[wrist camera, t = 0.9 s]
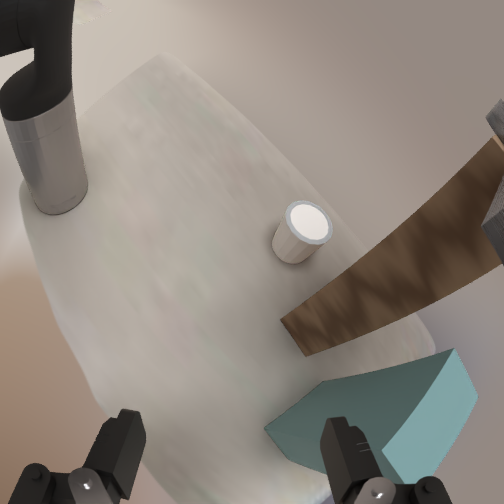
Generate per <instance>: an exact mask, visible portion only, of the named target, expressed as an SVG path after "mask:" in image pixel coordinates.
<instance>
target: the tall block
mask: <svg viewBox="0 0 504 504" xmlns="http://www.w3.org/2000/svg"><path fill="white" fill-rule="evenodd" d="M477 399H478V395H477V393H476V390H475V388H474V386H473V384H472V382H471V380H470V378H469V376H468V374H467V372H466V370H465V368H464V366H463V364H462V362H461V360H460V358H459V356H458V354H457V352H456V350H455V348H453V349H450V350H447V351H444V352H441V353H438V354H435V355H432V356H428V357H425V358H422V359H418V360H415V361H412V362H408V363H404V364H401V365H397V366H393V367H389V368H385V369H381V370H377V371H373V372H368V373H364V374H359V375H355V376H350V377H345V378H339V379H334V380H328V381H323V382H322V383H321V384H319V385H318V386H317V387H316V388H315V389H314V390H312V391H311V392H310V393H309V394H307V395H306V396H305V397H304V398H303V399H301V400H300V401H299V402H298V403H296V404H295V405H294V406H292V407H291V408H290V409H289V410H287V411H286V412H285V413H283V414H282V415H281V416H279V417H278V418H277V419H275V420H274V421H273V422H271V423H270V424H269V425H267V426H266V427H264V429H265V430H266V432H267V433H268V434H269V436H270V437H271V438H272V440H273V441H274V442H275V443H276V445H277V446H278V447H279V448H280V450H281V451H282V452H283V453H284V455H285V456H286V457H287V458H288V460H290V461H293V462H295V463H298V464H300V465H303V466H305V467H308V468H310V469H313V470H316V471H318V472H321V473H324V474H327V472H326V469H325V465H324V462H323V458H322V454H321V450H320V439H321V436H322V432H323V429H324V426H325V423H326V420H327V418H332V417H341V416H345V417H346V419H347V421H348V424H349V426H357V427H358V428H359V429H360V430H361V431H362V432H363V433H364V434H365V437H366V439H367V441H368V443H369V446H370V448H371V450H372V453H373V455H374V457H375V459H376V462H377V464H378V466H379V469H380V471H381V473H382V475H383V477H384V478H387V479H389V480H391V481H392V482H393V483H395V484H416V483H417V481H418V480H419V479H421V478H423V477H426V476H432V475H433V473H434V472H435V471H436V469H437V468H438V466H439V465H440V463H441V462H442V460H443V459H444V457H445V456H446V454H447V453H448V451H449V449H450V448H451V446H452V445H453V443H454V441H455V440H456V438H457V436H458V435H459V433H460V431H461V430H462V428H463V426H464V424H465V422H466V420H467V419H468V417H469V415H470V413H471V411H472V409H473V407H474V405H475V403H476V401H477Z"/></svg>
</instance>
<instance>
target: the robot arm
mask: <svg viewBox="0 0 504 504" xmlns="http://www.w3.org/2000/svg"><path fill="white" fill-rule="evenodd" d="M74 4H75V0H0V57H2V56H5V55H9V54H12V53H16V52H19V51H23V50H26V49H30V48H34V61H32V62H31V63H30V64H28V65H27V66H25V67H23V68H22V69H20V70H19V71H18V72H16V73H15V74H13V75H12V76H11V77H10V78H9V79H8V80H7V81H6V82H5V83H4V85H3V86H2V88H1V90H0V110H1V114H2V117H3V121H4V124H5V127H6V130H7V133H8V135H9V139H10V142H11V145H12V147H13V150H14V153H15V156H16V158H17V161H18V163H19V166H20V168H21V171H22V173H23V176H24V178H25V180H26V183H27V185H28V187H29V190H30V192H31V194H32V196H33V198H34V201H35V203H36V205H37V207H38V208H39V209H40V210H41V211H42V212H44V213H47V214H61V213H64V212H67V211H69V210H70V209H72V208H74V207H75V206H76V205H77V204H78V203H79V202H80V201H81V200H82V199H83V197H84V196H85V194H86V191H87V187H88V180H87V176H86V171H85V166H84V161H83V156H82V150H81V145H80V139H79V133H78V127H77V120H76V113H75V105H74V99H73V98H74V97H73V88H72V75H71V74H72V73H71V72H72V71H71V70H72V44H71V43H72V23H73V12H74ZM145 443H146V433H145V429H144V426H143V422H142V419H141V415H140V412H139V411H133V410H128V409H121V411H120V413H119V415H118V417H117V419H116V418H112V417H111V418H109V419H108V420H107V421H106V422H105V423H104V424H103V425H102V427H101V429H100V431H99V434H98V435H97V437H96V441H95V442H94V444H93V446H92V448H91V450H90V452H89V454H88V457H87V459H86V461H85V463H84V465H83V466H82V468H78V469H75V470H73V471H72V472H71V473H55V472H50V471H49V470H48V469H47V468H46V467H45V466H44V465H42V464H39V463H33V464H30V465H28V466H26V467H25V468H24V470H23V472H22V474H21V476H20V478H19V481H18V483H17V485H16V487H15V489H14V491H13V493H12V496H11V498H10V500H9V503H8V504H119V502H120V499H121V498H123V499H126V500H129V498H130V494H131V491H132V487H133V484H134V480H135V477H136V473H137V470H138V467H139V463H140V460H141V457H142V454H143V450H144V447H145ZM320 450H321V454H322V458H323V462H324V465H325V469H326V472H327V476H328V480H329V484H330V487H331V491H332V495H333V498H334V502H335V504H452V502H451V500H450V498H449V495H448V493H447V491H446V489H445V487H444V485H443V483H442V482H441V480H440V479H438V478H436V477H433V476H426V477H423V478H421V479H419V480H418V481H417V483H416V484H395V483H393V482H392V481H391V480H389V479H387V478H384V477H383V475H382V473H381V471H380V469H379V466H378V464H377V462H376V459H375V457H374V455H373V453H372V450H371V448H370V446H369V443H368V441H367V439H366V437H365V434H364V433H363V432H362V431H361V430H360V429H359V428H358V427H357V426H349V424H348V421H347V419H346V417H345V416H341V417H332V418H327V420H326V423H325V426H324V429H323V432H322V436H321V439H320Z"/></svg>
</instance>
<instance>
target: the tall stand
mask: <svg viewBox="0 0 504 504" xmlns="http://www.w3.org/2000/svg"><path fill="white" fill-rule="evenodd" d="M503 175H504V145H503V144H502V142H501V141H500V139H499V138H498V136H497V135H494V136H493V137H492V138H491V139H490V140H489V141H488V142H487V143H486V144H485V145H484V146H483V147H482V148H481V149H480V150H479V151H478V152H477V154H476V155H474V156H473V158H471V159H470V160H469V161H468V162H467V164H466V165H465V166H464V167H463V168H461V169H460V170H459V171H458V172H457V173H456V175H454V176H453V177H452V178H451V179H450V180H449V181H448V182H447V183H446V184H445V185H444V186H443V187H442V188H441V189H440V190H439V191H438V192H436V193H435V194H434V195H433V196H432V197H431V198H430V199H429V200H428V201H427V202H426V203H425V204H424V205H422V206H421V207H420V208H419V209H418V210H417V211H416V212H415V213H413V215H411V216H410V217H409V218H408V219H407V220H406V221H405V222H403V223H402V224H401V225H400V226H399V227H398V228H397V229H395V230H394V231H393V232H392V233H391V234H389V235H388V236H387V237H386V238H385V239H383V240H382V241H381V242H380V243H379V244H378V245H376V246H375V247H374V248H373V249H372V250H370V251H369V252H368V253H367V254H365V255H364V256H363V257H362V258H360V259H359V260H358V261H357V262H356V263H354V264H353V265H352V266H351V267H349V268H348V269H347V270H345V271H344V272H343V273H342V274H340V275H339V276H338V277H337V278H335V279H334V280H333V281H331V282H330V283H329V284H328V285H326V286H325V287H324V288H322V289H321V290H320V291H318V292H317V293H316V294H314V295H313V296H312V297H310V298H309V299H308V300H306V301H305V302H304V303H302V304H301V305H300V306H298V307H297V308H295V309H294V310H293V311H291V312H290V313H289V314H287V315H286V316H284V317H283V318H282V319H280V320H281V321H282V323H283V324H284V326H285V327H286V329H287V330H288V331H289V333H290V334H291V336H292V337H293V339H294V340H295V342H296V343H297V345H298V346H299V347H300V349H301V350H302V352H303V353H304V355H305V356H309V355H312V354H315V353H318V352H320V351H323V350H326V349H329V348H331V347H334V346H337V345H339V344H342V343H345V342H347V341H350V340H352V339H355V338H357V337H360V336H362V335H365V334H367V333H369V332H372V331H374V330H377V329H379V328H381V327H383V326H386V325H388V324H390V323H393V322H395V321H397V320H399V319H401V318H403V317H406V316H408V315H410V314H412V313H414V312H416V311H418V310H420V309H422V308H424V307H426V306H428V305H430V304H432V303H434V302H436V301H438V300H440V299H442V298H444V297H446V296H447V295H449V294H451V293H453V292H455V291H457V290H458V289H460V288H462V287H464V286H466V285H467V284H469V283H471V282H473V281H474V280H476V279H478V278H479V277H481V276H483V275H484V274H486V273H488V272H489V271H491V270H492V269H494V268H496V267H497V266H499V265H500V264H502V262H501V260H500V258H499V256H498V255H497V253H496V251H495V249H494V248H493V246H492V244H491V243H490V241H489V239H488V238H487V236H486V234H485V233H484V231H483V230H482V228H481V225H482V223H483V221H484V219H485V217H486V215H487V212H488V210H489V208H490V206H491V204H492V201H493V199H494V197H495V195H496V192H497V190H498V188H499V185H500V183H501V180H502V178H503Z"/></svg>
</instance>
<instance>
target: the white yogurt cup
mask: <svg viewBox="0 0 504 504" xmlns="http://www.w3.org/2000/svg"><path fill="white" fill-rule="evenodd" d="M332 231H333V227H332V223H331V220H330V218H329V217H328V215H327V213H326V212H325V211H324V210H323V209H322V208H320V207H319V206H318V205H316V204H314V203H312V202H309V201H303V200H300V201H296V202H293V203H292V204H291V205H289V206H288V207H287V210H286V212H285V214H284V216H283V218H282V220H281V222H280V224H279V227H278V229H277V231H276V233H275V235H274V237H273V240H272V247H273V250H274V252H275V254H276V256H278V257H279V258H280V259H281V260H282V261H284V262H286V263H289V264H297V263H300V262H302V261H303V260H304V259H306V258H307V257H308V256H310V255H311V254H312V253H313V252H315V251H316V250H317V249H319V248H320V247H321V246H322V245H324V244H325V243H326V242H327V241H328V240H329V239H330V238H331V236H332Z"/></svg>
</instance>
